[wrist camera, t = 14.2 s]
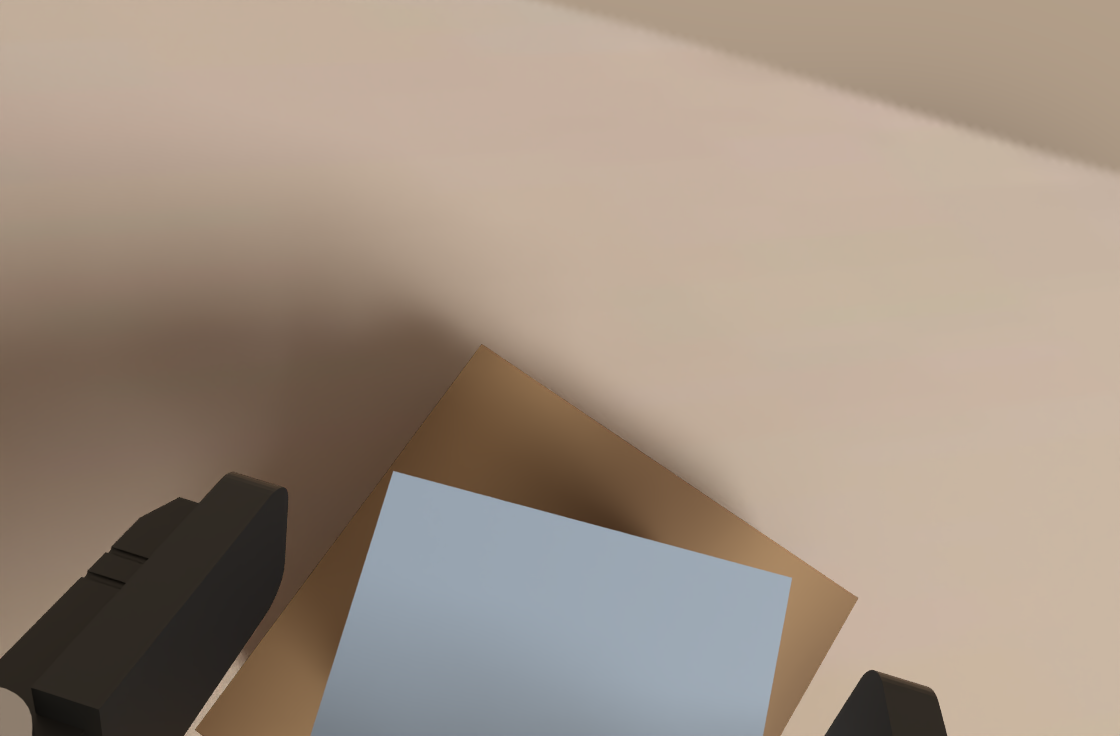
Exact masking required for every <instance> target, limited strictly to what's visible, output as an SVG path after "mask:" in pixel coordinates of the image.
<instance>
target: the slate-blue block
mask: <svg viewBox="0 0 1120 736" xmlns="http://www.w3.org/2000/svg"><path fill="white" fill-rule="evenodd" d="M791 581H792V578H791V577H787V576H783V575H780V574H776V573H772V572H768V571H765V570H761V569H757V568H753V567H750V566H746V565H742V564H738V563H735V562H731V561H727V560H724V559H720V558H716V557H712V556H709V555H705V554H701V553H697V552H694V551H690V550H686V549H683V548H679V547H675V546H671V545H668V544H664V543H660V542H656V541H653V540H649V539H645V538H641V537H638V536H634V535H630V534H627V533H623V532H619V531H615V530H612V529H608V528H604V527H600V526H597V525H593V524H589V523H585V522H582V521H578V520H574V519H571V518H567V517H563V516H559V515H556V514H552V513H548V512H544V511H541V510H537V509H533V508H530V507H526V506H522V505H518V504H515V503H511V502H507V501H503V500H500V499H496V498H492V497H488V496H485V495H481V494H477V493H474V492H470V491H466V490H462V489H459V488H455V487H451V486H447V485H444V484H440V483H436V482H433V481H429V480H425V479H421V478H418V477H414V476H410V475H406V474H403V473H399V472H395V471H393V474H392V477H391V480H390V483H389V486H388V490H387V493H386V496H385V499H384V502H383V506H382V509H381V512H380V515H379V518H378V522H377V525H376V528H375V531H374V534H373V538H372V541H371V544H370V547H369V550H368V553H367V557H366V560H365V563H364V566H363V569H362V573H361V576H360V579H359V582H358V585H357V589H356V592H355V595H354V598H353V601H352V604H351V608H350V611H349V614H348V617H347V620H346V624H345V627H344V630H343V633H342V636H341V640H340V643H339V646H338V649H337V652H336V656H335V659H334V662H333V665H332V668H331V671H330V675H329V678H328V681H327V684H326V687H325V691H324V694H323V697H322V700H321V703H320V707H319V710H318V713H317V716H316V719H315V722H314V726H313V729H312V732H311V735H310V736H763V733H764V727H765V722H766V717H767V711H768V706H769V700H770V695H771V690H772V684H773V679H774V673H775V668H776V662H777V657H778V652H779V646H780V641H781V635H782V630H783V625H784V619H785V614H786V608H787V603H788V597H789V592H790V587H791Z"/></svg>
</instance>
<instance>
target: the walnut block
mask: <svg viewBox="0 0 1120 736" xmlns="http://www.w3.org/2000/svg"><path fill="white" fill-rule="evenodd" d="M393 471H395V472H399V473H403V474H406V475H410V476H414V477H418V478H421V479H425V480H429V481H433V482H436V483H440V484H444V485H447V486H451V487H455V488H459V489H462V490H466V491H470V492H474V493H477V494H481V495H485V496H488V497H492V498H496V499H500V500H503V501H507V502H511V503H515V504H518V505H522V506H526V507H530V508H533V509H537V510H541V511H544V512H548V513H552V514H556V515H559V516H563V517H567V518H571V519H574V520H578V521H582V522H585V523H589V524H593V525H597V526H600V527H604V528H608V529H612V530H615V531H619V532H623V533H627V534H630V535H634V536H638V537H641V538H645V539H649V540H653V541H656V542H660V543H664V544H668V545H671V546H675V547H679V548H683V549H686V550H690V551H694V552H697V553H701V554H705V555H709V556H712V557H716V558H720V559H724V560H727V561H731V562H735V563H738V564H742V565H746V566H750V567H753V568H757V569H761V570H765V571H768V572H772V573H776V574H780V575H783V576H787V577H791V578H792V581H791V587H790V592H789V597H788V603H787V608H786V614H785V619H784V625H783V630H782V635H781V641H780V646H779V652H778V657H777V662H776V668H775V673H774V679H773V684H772V690H771V695H770V700H769V706H768V711H767V717H766V722H765V727H764V733H763V736H780V735H781V733H782V732H783V730H784V728H785V726H786V725H787V723H788V721H789V719H790V718H791V716H792V714H793V712H794V711H795V709H796V707H797V705H798V704H799V702H800V700H801V698H802V696H803V695H804V693H805V691H806V689H807V688H808V686H809V684H810V682H811V681H812V679H813V677H814V675H815V674H816V672H817V670H818V668H819V666H820V665H821V663H822V661H823V659H824V658H825V656H826V654H827V652H828V651H829V649H830V647H831V645H832V644H833V642H834V640H835V638H836V637H837V635H838V633H839V631H840V629H841V628H842V626H843V624H844V622H845V621H846V619H847V617H848V615H849V614H850V612H851V610H852V608H853V607H854V605H855V603H856V601H857V599H858V598H857V597H856V596H854V595H853V594H851V593H850V592H848V591H847V590H845V589H844V588H842V587H841V586H839V585H838V584H836V583H835V582H834V581H832V580H831V579H829V578H828V577H826V576H825V575H823V574H822V573H820V572H819V571H817V570H816V569H814V568H813V567H811V566H810V565H808V564H807V563H805V562H804V561H802V560H801V559H799V558H798V557H796V556H795V555H793V554H792V553H791V552H789V551H788V550H786V549H785V548H783V547H782V546H780V545H779V544H777V543H776V542H774V541H773V540H771V539H770V538H768V537H767V536H765V535H764V534H762V533H761V532H759V531H758V530H756V529H755V528H753V527H752V526H751V525H749V524H748V523H746V522H745V521H743V520H742V519H740V518H739V517H737V516H736V515H734V514H733V513H731V512H730V511H728V510H727V509H725V508H724V507H722V506H721V505H719V504H718V503H716V502H715V501H713V500H712V499H711V498H709V497H708V496H706V495H705V494H703V493H702V492H700V491H699V490H697V489H696V488H694V487H693V486H691V485H690V484H688V483H687V482H685V481H684V480H682V479H681V478H679V477H678V476H676V475H675V474H673V473H672V472H671V471H669V470H668V469H666V468H665V467H663V466H662V465H660V464H659V463H657V462H656V461H654V460H653V459H651V458H650V457H648V456H647V455H645V454H644V453H642V452H641V451H639V450H638V449H636V448H635V447H633V446H632V445H630V444H629V443H628V442H626V441H625V440H623V439H622V438H620V437H619V436H617V435H616V434H614V433H613V432H611V431H610V430H608V429H607V428H605V427H604V426H602V425H601V424H599V423H598V422H596V421H595V420H593V419H592V418H590V417H589V416H588V415H586V414H585V413H583V412H582V411H580V410H579V409H577V408H576V407H574V406H573V405H571V404H570V403H568V402H567V401H565V400H564V399H562V398H561V397H559V396H558V395H556V394H555V393H553V392H552V391H550V390H549V389H548V388H546V387H545V386H543V385H542V384H540V383H539V382H537V381H536V380H534V379H533V378H531V377H530V376H528V375H527V374H525V373H524V372H522V371H521V370H519V369H518V368H516V367H515V366H513V365H512V364H510V363H509V362H508V361H506V360H505V359H503V358H502V357H500V356H499V355H497V354H496V353H494V352H493V351H491V350H490V349H488V348H487V347H485V346H484V345H482V344H481V346H480V347H479V348H478V350H477V351H476V352H475V354H474V355H473V357H472V358H471V359H470V361H469V362H468V363H467V365H466V366H465V367H464V369H463V370H462V371H461V373H460V374H459V375H458V377H457V378H456V379H455V381H454V382H453V383H452V385H451V386H450V387H449V389H448V390H447V391H446V393H445V394H444V396H443V397H442V398H441V400H440V401H439V402H438V404H437V405H436V406H435V408H434V409H433V410H432V412H431V413H430V414H429V416H428V417H427V418H426V420H425V421H424V422H423V424H422V425H421V426H420V428H419V429H418V430H417V432H416V433H415V435H414V436H413V437H412V439H411V440H410V441H409V443H408V444H407V445H406V447H405V448H404V449H403V451H402V452H401V453H400V455H399V456H398V457H397V459H396V460H395V461H394V463H393V464H392V465H391V467H390V468H389V469H388V471H387V472H386V474H385V475H384V476H383V478H382V479H381V480H380V482H379V483H378V484H377V486H376V487H375V488H374V490H373V491H372V492H371V494H370V495H369V496H368V498H367V499H366V500H365V502H364V503H363V504H362V506H361V507H360V508H359V510H358V511H357V513H356V514H355V515H354V517H353V518H352V519H351V521H350V522H349V523H348V525H347V526H346V527H345V529H344V530H343V531H342V533H341V534H340V535H339V537H338V538H337V539H336V541H335V542H334V543H333V545H332V546H331V547H330V549H329V550H328V552H327V553H326V554H325V556H324V557H323V558H322V560H321V561H320V562H319V564H318V565H317V566H316V568H315V569H314V570H313V572H312V573H311V574H310V576H309V577H308V578H307V580H306V581H305V582H304V584H303V585H302V587H301V588H300V589H299V591H298V592H297V593H296V595H295V596H294V597H293V599H292V600H291V601H290V603H289V604H288V605H287V607H286V608H285V609H284V611H283V612H282V613H281V615H280V616H279V617H278V619H277V620H276V621H275V623H274V624H273V626H272V627H271V628H270V630H269V631H268V632H267V634H266V635H265V636H264V638H263V639H262V640H261V642H260V643H259V644H258V646H257V647H256V648H255V650H254V651H253V652H252V654H251V655H250V656H249V658H248V659H247V660H246V662H245V663H244V665H243V666H242V667H241V669H240V670H239V671H238V673H237V674H236V675H235V677H234V678H233V679H232V681H231V682H230V683H229V685H228V686H227V687H226V689H225V690H224V691H223V693H222V694H221V695H220V697H219V698H218V699H217V701H216V702H215V704H214V705H213V706H212V708H211V709H210V710H209V712H208V713H207V714H206V716H205V717H204V718H203V720H202V721H201V722H200V724H199V725H198V726H197V728H196V729H195V730H196V731H197V732H198V733H200V734H201V735H202V736H310V735H311V732H312V729H313V726H314V722H315V719H316V716H317V713H318V710H319V707H320V703H321V700H322V697H323V694H324V691H325V687H326V684H327V681H328V678H329V675H330V671H331V668H332V665H333V662H334V659H335V656H336V652H337V649H338V646H339V643H340V640H341V636H342V633H343V630H344V627H345V624H346V620H347V617H348V614H349V611H350V608H351V604H352V601H353V598H354V595H355V592H356V589H357V585H358V582H359V579H360V576H361V573H362V569H363V566H364V563H365V560H366V557H367V553H368V550H369V547H370V544H371V541H372V538H373V534H374V531H375V528H376V525H377V522H378V518H379V515H380V512H381V509H382V506H383V502H384V499H385V496H386V493H387V490H388V486H389V483H390V480H391V477H392V474H393Z"/></svg>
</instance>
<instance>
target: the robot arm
mask: <svg viewBox="0 0 1120 736" xmlns="http://www.w3.org/2000/svg"><path fill="white" fill-rule="evenodd" d="M287 512H288V492H287V490H286V488H284V487H281V486H277V485H274V484H271V483H268V482H264V481H261V480H258V479H255V478H251V477H248V476H245V475H242V474H238V473H235V472H231V473H228V474H227V475H225V476H224V477H223V478H222V479H221V480H220V481H219V482H218V483H217V484H216V485H215V486H214V487H213V489H212V490H211V491H210V492H209V493H208V494H207V495H206V496H205V497H204V498H203V500H202V501H201V502H200V503H196V502H193V501H190V500H187V499H183V498H180V497H179V498H177V499H175V500H173V501H171V502H169V503H167V504H166V505H164V506H162V507H160V508H158V509H156V510H154V511H152V512H150V513H148V514H146V515H144V516H142V517H140V518H139V519H138V520H137V521H136V522H135V523H134V524H133V525H132V526H131V527H130V528H129V529H128V530H127V531H126V532H125V533H124V535H123V536H122V537H121V538H120V539H119V540H118V541H117V542H116V543H115V544H114V545H113V546H112V547H111V550H110V552H109V553H105V554H104V555H103V556H102V557H101V558H100V559H99V560H98V561H97V562H96V563H95V564H94V565H93V566H92V567H91V568H90V569H89V570H88V572H87V575H86V576H85V577H84V578H83V577H81V578H80V579H79V580H78V581H77V582H76V583H75V584H74V585H73V586H72V587H71V588H70V589H69V590H68V591H67V592H66V593H65V594H64V595H63V596H62V597H61V598H60V599H59V600H58V601H57V602H56V603H55V604H54V605H53V606H52V607H51V608H50V609H49V610H48V611H47V612H46V613H45V614H44V615H43V616H42V617H41V618H40V619H39V620H38V621H37V622H36V623H35V624H34V625H33V626H32V627H31V628H30V629H29V630H28V631H27V632H26V633H25V634H24V635H23V636H22V637H21V639H20V640H19V641H18V642H17V643H16V644H15V645H14V646H13V647H12V648H11V649H10V650H9V651H8V652H7V653H6V654H5V655H4V656H3V657H2V658H1V659H0V736H184V735H185V733H186V732H187V730H188V729H189V727H190V726H191V724H192V723H193V721H194V720H195V718H196V717H197V715H198V714H199V712H200V711H201V709H202V708H203V707H204V705H205V704H206V702H207V701H208V699H209V698H210V696H211V695H212V693H213V692H214V690H215V689H216V687H217V686H218V684H219V683H220V681H221V680H222V678H223V677H224V675H225V674H226V672H227V671H228V669H229V668H230V666H231V665H232V663H233V662H234V661H235V659H236V658H237V656H238V655H239V653H240V652H241V650H242V649H243V647H244V646H245V644H246V643H247V641H248V640H249V638H250V637H251V635H252V634H253V632H254V631H255V629H256V628H257V626H258V625H259V623H260V622H261V620H262V619H263V618H264V616H265V615H266V613H267V611H268V610H269V608H270V606H271V604H272V602H273V600H274V598H275V596H276V594H277V591H278V589H279V586H280V583H281V580H282V576H283V571H284V564H285V546H286V529H287ZM825 736H947V733H946V729H945V725H944V721H943V717H942V714H941V710H940V706H939V702H938V699H937V696H936V694H935V693H934V691H933V690H932V689H931V688H929V687H927V686H923V685H920V684H917V683H914V682H910V681H907V680H904V679H901V678H897V677H894V676H891V675H888V674H884V673H881V672H878V671H874V670H869V671H868V672H866V673H865V674H864V675H863V677H862V678H861V679H860V681H859V682H858V684H857V686H856V687H855V689H854V690H853V692H852V693H851V695H850V697H849V698H848V700H847V701H846V703H845V704H844V706H843V708H842V709H841V711H840V712H839V714H838V715H837V717H836V719H835V720H834V722H833V723H832V725H831V726H830V728H829V730H828V731H827V733H826V734H825Z"/></svg>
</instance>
